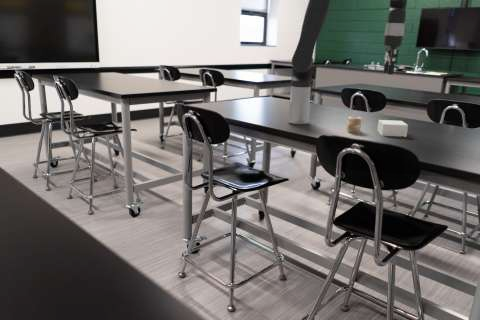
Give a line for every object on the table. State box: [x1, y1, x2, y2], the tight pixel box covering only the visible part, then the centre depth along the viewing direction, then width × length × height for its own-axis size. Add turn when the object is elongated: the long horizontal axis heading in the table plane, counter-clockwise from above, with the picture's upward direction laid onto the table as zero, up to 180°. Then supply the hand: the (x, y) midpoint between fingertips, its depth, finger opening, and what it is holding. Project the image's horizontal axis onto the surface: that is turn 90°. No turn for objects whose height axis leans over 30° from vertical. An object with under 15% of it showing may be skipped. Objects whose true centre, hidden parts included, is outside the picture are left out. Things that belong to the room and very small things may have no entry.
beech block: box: [346, 116, 362, 134], centre depth 174 cm, size 5×5×6 cm
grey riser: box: [376, 119, 409, 138], centre depth 172 cm, size 10×10×5 cm
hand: (388, 73), depth 175 cm, fingers open, 8 cm apart
